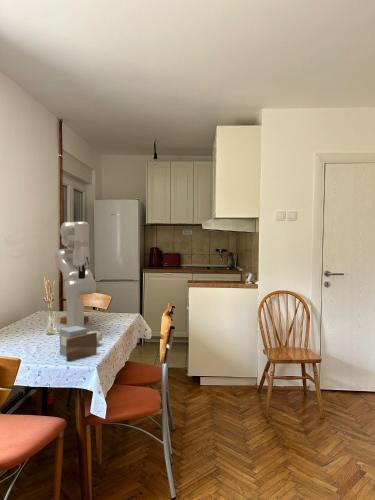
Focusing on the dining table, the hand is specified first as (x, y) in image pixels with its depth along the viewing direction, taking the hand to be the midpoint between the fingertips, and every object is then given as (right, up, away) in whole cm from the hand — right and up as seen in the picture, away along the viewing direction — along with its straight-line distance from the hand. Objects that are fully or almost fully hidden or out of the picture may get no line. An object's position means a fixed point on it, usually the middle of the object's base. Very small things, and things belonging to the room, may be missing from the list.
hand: (81, 278), depth 197 cm
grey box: (+3, -34, -25) cm, 42 cm away
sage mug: (+10, -33, -11) cm, 36 cm away
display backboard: (+9, -34, -30) cm, 46 cm away
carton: (-17, -33, +42) cm, 56 cm away
